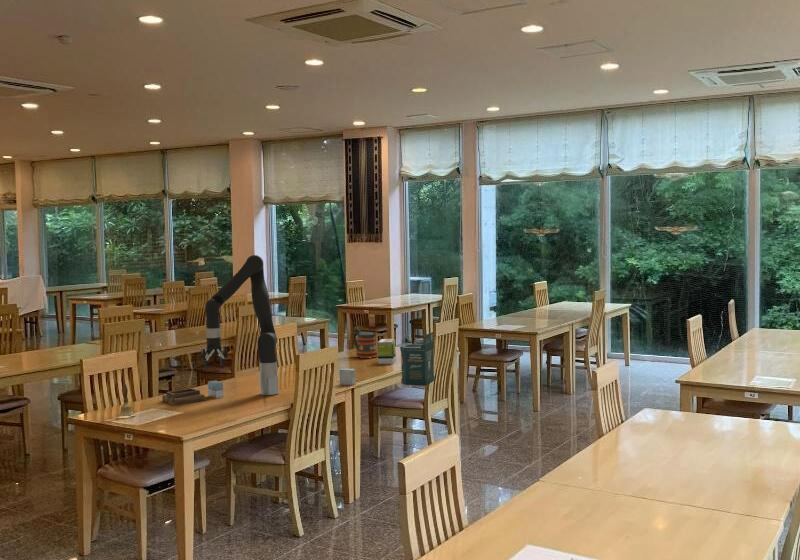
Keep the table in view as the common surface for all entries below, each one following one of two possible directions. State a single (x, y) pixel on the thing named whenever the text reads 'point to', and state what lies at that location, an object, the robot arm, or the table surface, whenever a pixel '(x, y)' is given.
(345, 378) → the medicine box
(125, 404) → the hand bell
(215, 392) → the housing
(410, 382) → the donation box
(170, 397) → the walnut stand
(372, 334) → the beer stein
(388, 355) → the tea box
